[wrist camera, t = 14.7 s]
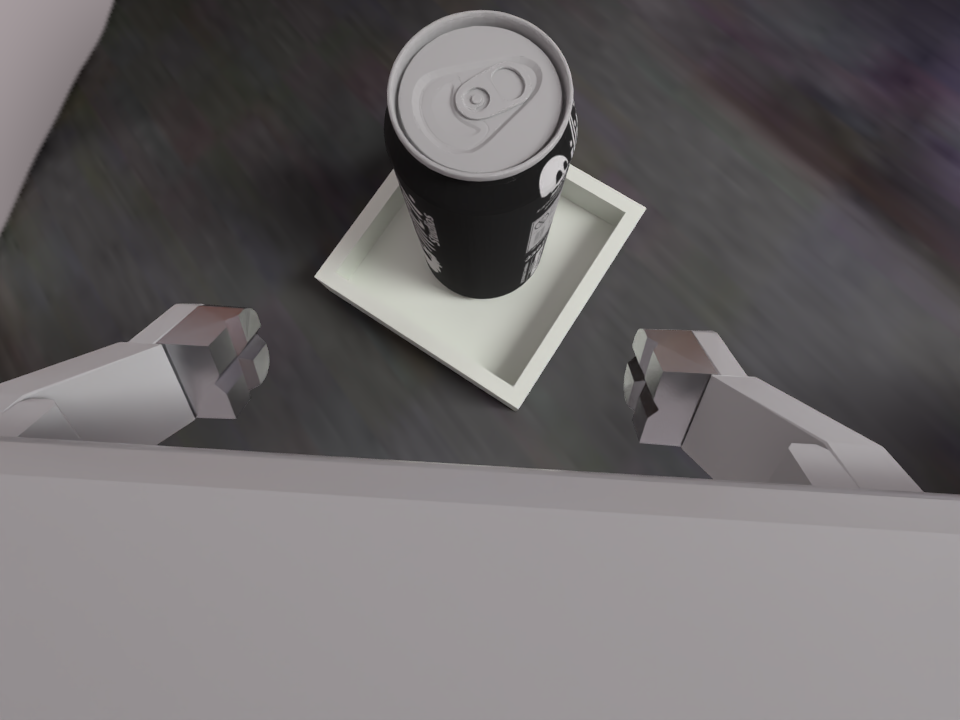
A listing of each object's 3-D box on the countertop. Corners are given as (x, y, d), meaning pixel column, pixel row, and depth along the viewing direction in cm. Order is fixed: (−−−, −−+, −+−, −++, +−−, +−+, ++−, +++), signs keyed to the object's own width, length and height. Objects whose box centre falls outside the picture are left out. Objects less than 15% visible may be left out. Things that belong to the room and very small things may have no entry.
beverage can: (405, 226, 26) (336, 54, 14) (505, 173, 26) (520, -36, 15) (459, 324, 25) (435, 228, 13) (563, 268, 26) (629, 127, 14)
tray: (451, 123, 28) (448, 94, 25) (632, 228, 26) (646, 208, 24) (329, 290, 26) (314, 276, 24) (515, 411, 25) (518, 409, 23)
